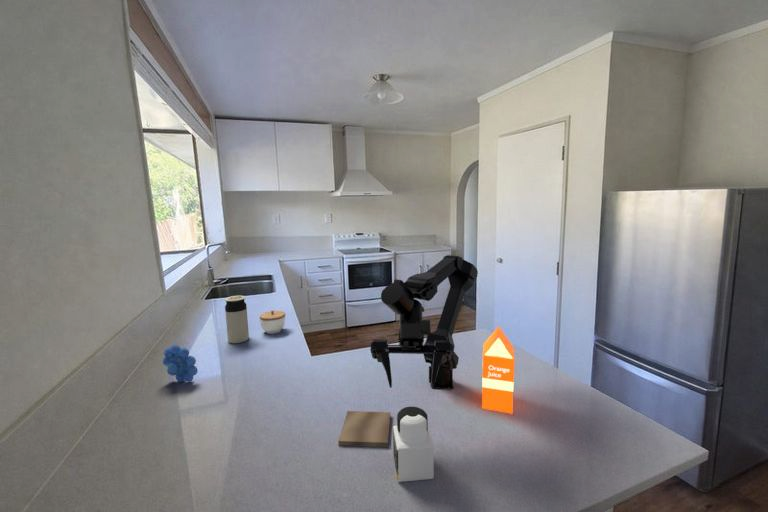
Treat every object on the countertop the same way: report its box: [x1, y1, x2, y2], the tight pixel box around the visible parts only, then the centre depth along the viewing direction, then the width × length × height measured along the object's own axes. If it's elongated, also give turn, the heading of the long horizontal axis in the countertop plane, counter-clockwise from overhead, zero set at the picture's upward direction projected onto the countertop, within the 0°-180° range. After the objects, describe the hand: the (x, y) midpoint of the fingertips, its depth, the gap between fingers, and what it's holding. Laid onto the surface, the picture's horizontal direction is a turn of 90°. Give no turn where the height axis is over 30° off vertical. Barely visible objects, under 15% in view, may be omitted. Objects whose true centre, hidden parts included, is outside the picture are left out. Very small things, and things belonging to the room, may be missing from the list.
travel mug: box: [224, 295, 250, 344], centre depth 134 cm, size 8×8×18 cm
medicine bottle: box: [392, 406, 435, 483], centre depth 66 cm, size 7×7×12 cm
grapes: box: [162, 344, 198, 383], centre depth 101 cm, size 12×7×12 cm, turn 79°
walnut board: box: [338, 410, 391, 448], centre depth 78 cm, size 11×11×1 cm
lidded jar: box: [259, 310, 286, 335], centre depth 144 cm, size 11×11×9 cm
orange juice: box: [481, 325, 515, 414], centre depth 87 cm, size 8×9×20 cm
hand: (411, 387), depth 72 cm, fingers open, 9 cm apart
